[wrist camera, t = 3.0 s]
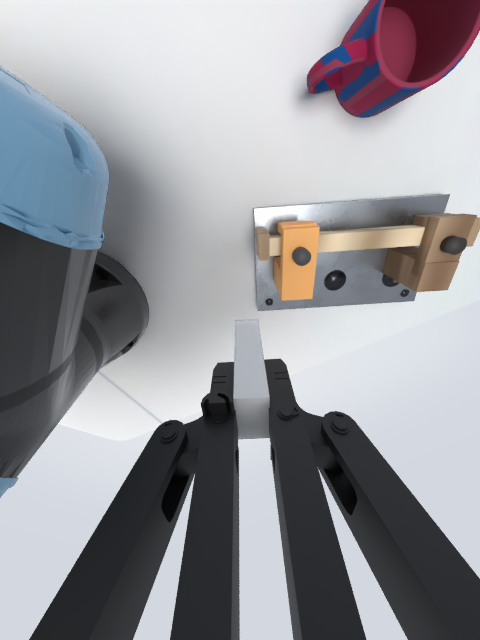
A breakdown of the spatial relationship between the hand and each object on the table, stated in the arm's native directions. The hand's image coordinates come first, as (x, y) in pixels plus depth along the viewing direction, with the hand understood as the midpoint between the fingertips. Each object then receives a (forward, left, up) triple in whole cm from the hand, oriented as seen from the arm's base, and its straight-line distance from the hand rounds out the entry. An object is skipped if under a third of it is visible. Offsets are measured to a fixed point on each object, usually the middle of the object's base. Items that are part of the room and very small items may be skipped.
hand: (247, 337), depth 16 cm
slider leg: (+5, +2, -13) cm, 14 cm away
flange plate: (+12, +1, -15) cm, 19 cm away
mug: (+11, +17, -15) cm, 25 cm away
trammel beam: (+12, +2, -13) cm, 18 cm away
